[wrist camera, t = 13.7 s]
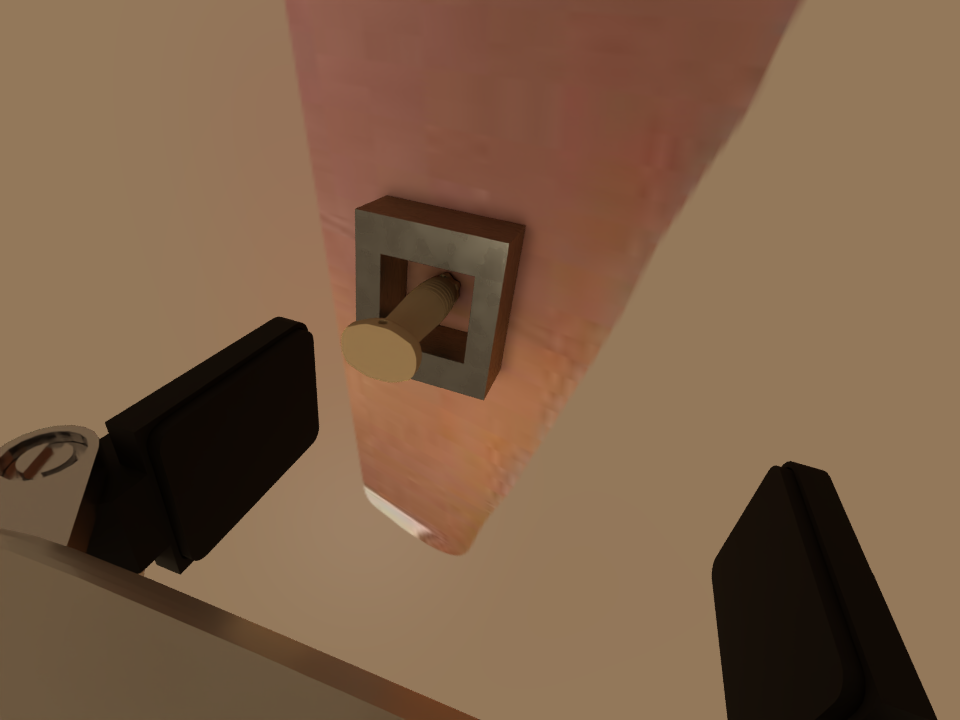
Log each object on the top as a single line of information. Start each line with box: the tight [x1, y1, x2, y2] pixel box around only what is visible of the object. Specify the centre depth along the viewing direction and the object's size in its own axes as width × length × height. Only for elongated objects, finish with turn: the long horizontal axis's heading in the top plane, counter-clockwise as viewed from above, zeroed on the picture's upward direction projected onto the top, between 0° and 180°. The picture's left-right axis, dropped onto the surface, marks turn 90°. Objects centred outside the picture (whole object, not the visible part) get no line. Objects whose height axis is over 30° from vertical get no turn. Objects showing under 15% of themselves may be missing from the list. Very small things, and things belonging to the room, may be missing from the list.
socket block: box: [355, 196, 526, 400], centre depth 48 cm, size 16×14×6 cm
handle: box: [341, 273, 460, 382], centre depth 44 cm, size 5×6×15 cm
